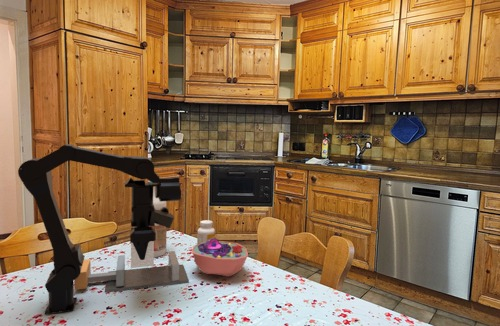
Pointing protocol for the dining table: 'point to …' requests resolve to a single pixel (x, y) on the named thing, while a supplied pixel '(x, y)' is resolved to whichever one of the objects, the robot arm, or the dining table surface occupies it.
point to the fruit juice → (159, 228)
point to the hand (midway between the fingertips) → (142, 256)
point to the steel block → (148, 257)
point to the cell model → (219, 257)
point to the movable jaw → (100, 274)
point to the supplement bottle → (205, 231)
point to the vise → (151, 276)
